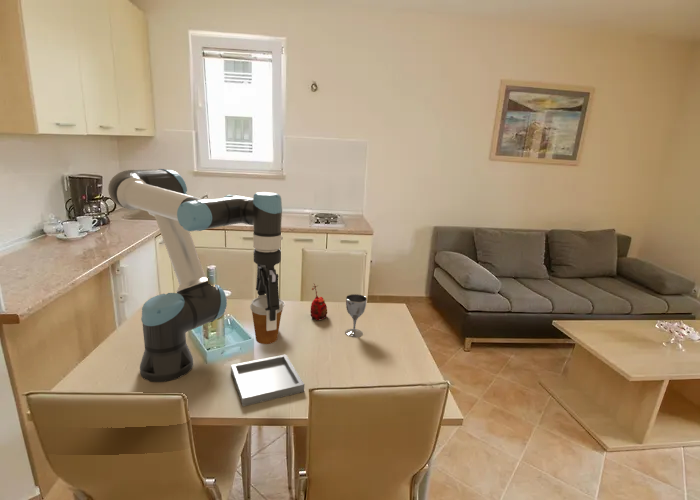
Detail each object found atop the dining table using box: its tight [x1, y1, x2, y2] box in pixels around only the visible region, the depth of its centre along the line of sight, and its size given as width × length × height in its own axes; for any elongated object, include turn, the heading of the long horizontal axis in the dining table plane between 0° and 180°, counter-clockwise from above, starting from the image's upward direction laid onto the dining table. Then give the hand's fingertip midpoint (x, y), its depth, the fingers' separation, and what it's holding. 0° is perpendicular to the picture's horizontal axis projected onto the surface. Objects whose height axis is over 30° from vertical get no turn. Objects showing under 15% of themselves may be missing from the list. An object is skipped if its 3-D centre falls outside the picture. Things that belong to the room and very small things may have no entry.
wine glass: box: [344, 293, 368, 338], centre depth 150 cm, size 8×8×15 cm
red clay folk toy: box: [310, 283, 328, 321], centre depth 162 cm, size 8×7×15 cm
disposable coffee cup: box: [249, 296, 285, 345], centre depth 113 cm, size 10×10×12 cm
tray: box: [230, 353, 305, 407], centre depth 118 cm, size 18×18×2 cm
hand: (266, 322), depth 113 cm, fingers closed on disposable coffee cup, 9 cm apart
